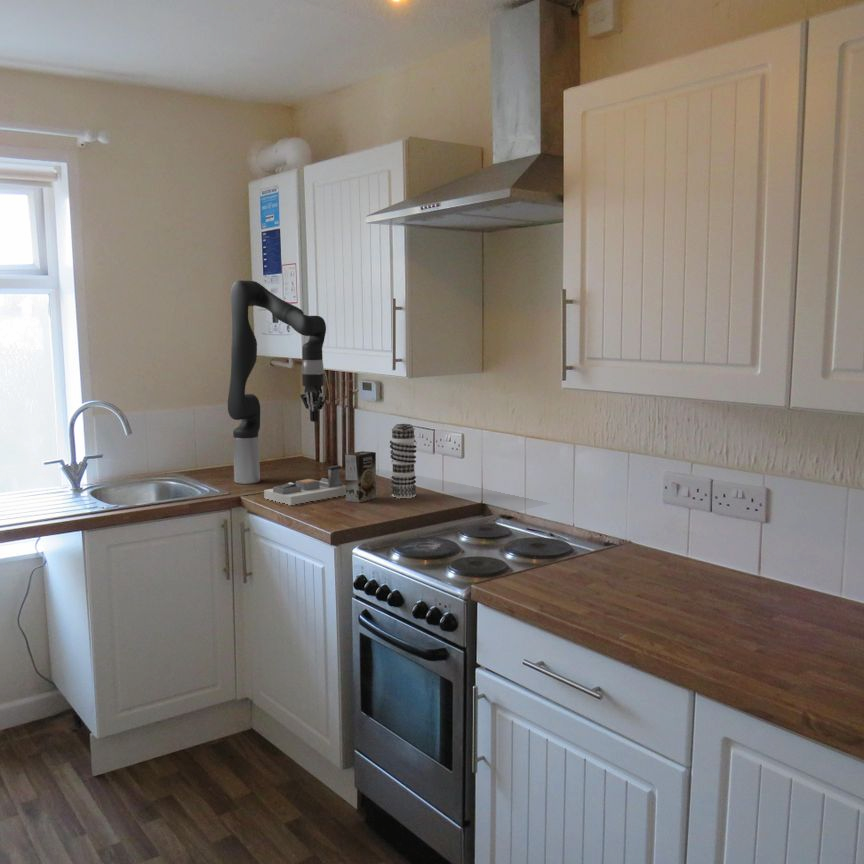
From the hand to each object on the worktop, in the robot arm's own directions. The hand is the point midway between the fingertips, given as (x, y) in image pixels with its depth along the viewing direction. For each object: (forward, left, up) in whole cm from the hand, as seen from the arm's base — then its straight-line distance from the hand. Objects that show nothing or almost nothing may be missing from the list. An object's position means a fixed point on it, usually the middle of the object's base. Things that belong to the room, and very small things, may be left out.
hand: (314, 421), depth 303 cm
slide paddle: (+11, 0, -22) cm, 24 cm away
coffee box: (+24, +2, -25) cm, 35 cm away
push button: (+7, -8, -22) cm, 24 cm away
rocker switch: (+7, -17, -21) cm, 28 cm away
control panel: (+7, -8, -25) cm, 27 cm away
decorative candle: (+30, +16, -25) cm, 42 cm away
